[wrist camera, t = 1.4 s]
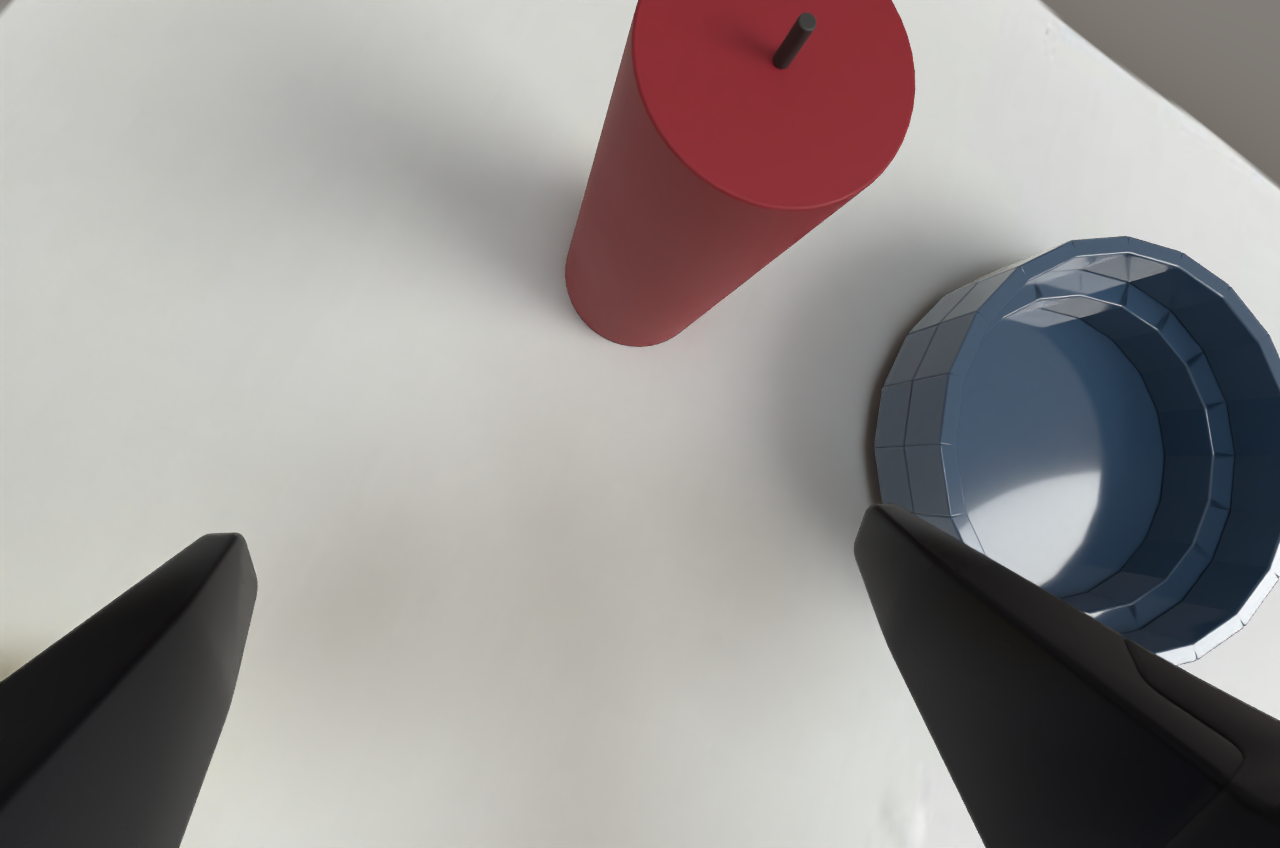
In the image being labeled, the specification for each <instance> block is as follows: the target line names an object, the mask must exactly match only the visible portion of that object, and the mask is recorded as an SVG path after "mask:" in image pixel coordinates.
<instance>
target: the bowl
mask: <svg viewBox="0 0 1280 848" xmlns="http://www.w3.org/2000/svg"><path fill="white" fill-rule="evenodd" d="M874 447H875V449H874V451H875V458H876V465H877V472H878V478H879V485H880V492H881V499H882V504H887V503H893V504H897V505H899V506H901V507H903V508H904V509H906V510H908V511H910V512H911V513H913V514H915V515H917V516H918V517H920V518H922V519H923V520H925V521H927V522H929V523H930V524H932V525H934V526H935V527H937V528H939V529H941V530H942V531H944V532H946V533H948V534H949V535H951V536H953V537H954V538H956V539H958V540H960V541H961V542H963V543H965V544H967V545H968V546H970V547H972V548H973V549H975V550H977V551H979V552H980V553H982V554H984V555H986V556H987V557H989V558H991V559H992V560H994V561H996V562H998V563H999V564H1001V565H1003V566H1005V567H1006V568H1008V569H1010V570H1011V571H1013V572H1015V573H1017V574H1018V575H1020V576H1022V577H1024V578H1025V579H1027V580H1029V581H1030V582H1032V583H1034V584H1036V585H1037V586H1039V587H1041V588H1043V589H1044V590H1046V591H1048V592H1049V593H1051V594H1053V595H1055V596H1056V597H1058V598H1060V599H1062V600H1063V601H1065V602H1067V603H1068V604H1070V605H1072V606H1074V607H1075V608H1077V609H1079V610H1081V611H1082V612H1084V613H1086V614H1087V615H1089V616H1091V617H1093V618H1094V619H1096V620H1098V621H1100V622H1101V623H1103V624H1105V625H1106V626H1108V627H1110V628H1112V629H1113V630H1115V631H1117V632H1119V633H1120V634H1121V635H1122V637H1123V638H1124V637H1127V638H1129V639H1131V640H1133V641H1134V642H1136V643H1138V644H1139V645H1141V646H1143V647H1145V648H1146V649H1148V650H1150V651H1151V652H1153V653H1155V654H1157V655H1158V656H1160V657H1162V658H1164V659H1166V660H1167V661H1169V662H1171V663H1173V664H1174V665H1176V666H1177V665H1181V664H1185V663H1189V662H1193V661H1196V660H1198V659H1200V658H1201V657H1202V656H1204V655H1205V654H1207V653H1208V652H1210V651H1211V650H1212V649H1214V648H1215V647H1217V646H1218V645H1220V644H1221V643H1222V642H1224V641H1225V640H1227V639H1228V638H1229V637H1231V636H1232V635H1234V634H1235V633H1237V632H1238V631H1239V630H1241V629H1242V628H1243V626H1245V625H1246V624H1247V623H1248V621H1249V620H1250V619H1251V617H1252V616H1253V614H1254V613H1255V612H1256V610H1257V609H1258V608H1259V606H1260V605H1261V603H1262V602H1263V601H1264V599H1265V598H1266V596H1267V595H1268V594H1269V592H1270V591H1271V590H1272V588H1273V587H1274V585H1275V584H1276V583H1277V581H1278V580H1279V578H1278V577H1280V358H1279V355H1278V353H1277V351H1276V349H1275V346H1274V344H1273V342H1272V340H1271V337H1270V335H1269V334H1268V333H1267V331H1266V330H1265V329H1264V327H1263V326H1262V325H1261V324H1260V322H1259V321H1258V320H1257V319H1256V317H1255V316H1254V315H1253V314H1252V312H1251V311H1250V310H1249V309H1248V307H1247V306H1246V305H1245V304H1244V302H1243V301H1242V300H1241V299H1240V297H1239V296H1238V295H1237V294H1236V292H1235V291H1234V290H1233V289H1232V287H1229V285H1228V284H1227V283H1226V282H1224V281H1223V280H1221V279H1220V278H1218V277H1217V276H1216V275H1214V274H1213V273H1211V272H1210V271H1208V270H1207V269H1206V268H1204V267H1203V266H1201V265H1200V264H1198V263H1197V262H1196V261H1194V260H1193V259H1191V258H1190V257H1188V256H1187V255H1186V254H1184V253H1181V252H1180V251H1177V250H1173V249H1170V248H1166V247H1163V246H1159V245H1156V244H1153V243H1149V242H1146V241H1142V240H1139V239H1135V238H1132V237H1127V236H1120V237H1107V238H1095V239H1082V240H1071V241H1068V242H1066V243H1063V244H1061V245H1058V246H1056V247H1053V248H1051V249H1048V250H1046V251H1043V252H1041V253H1038V254H1036V255H1033V256H1031V257H1028V258H1026V259H1023V260H1021V261H1018V262H1016V263H1013V264H1011V265H1008V266H1006V267H1003V268H1001V269H998V270H996V271H993V272H991V273H989V274H987V275H984V276H982V277H980V278H978V279H976V280H974V281H972V282H970V283H968V284H966V285H964V286H962V287H960V288H958V289H956V290H954V291H952V292H950V293H947V295H944V296H943V297H942V298H941V299H940V300H939V301H938V302H937V304H936V305H935V306H934V307H933V308H932V309H931V310H930V311H929V312H928V313H927V314H926V315H925V316H924V317H923V318H922V319H921V320H920V321H919V322H918V323H917V324H916V325H915V326H914V327H913V328H912V330H911V331H910V332H909V333H908V335H907V336H906V338H905V341H904V343H903V345H902V347H901V349H900V351H899V353H898V355H897V358H896V360H895V362H894V364H893V366H892V368H891V370H890V372H889V375H888V377H887V379H886V381H885V383H884V387H883V388H882V392H881V399H880V406H879V413H878V421H877V428H876V435H875V442H874Z"/></svg>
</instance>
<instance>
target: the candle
mask: <svg viewBox="0 0 1280 848" xmlns="http://www.w3.org/2000/svg"><path fill="white" fill-rule="evenodd" d="M914 95H915V70H914V63H913V56H912V51H911V47H910V43H909V40H908V36H907V33H906V30H905V28H904V25H903V23H902V20H901V18H900V16H899V14H898V12H897V10H896V8H895V6H894V4H893V2H892V0H638V3H637V6H636V10H635V13H634V17H633V20H632V24H631V28H630V31H629V35H628V38H627V42H626V46H625V49H624V53H623V56H622V60H621V64H620V67H619V71H618V75H617V78H616V82H615V85H614V89H613V93H612V96H611V100H610V104H609V107H608V111H607V114H606V118H605V122H604V125H603V129H602V133H601V136H600V140H599V143H598V147H597V151H596V154H595V158H594V161H593V165H592V169H591V172H590V176H589V180H588V183H587V187H586V190H585V194H584V198H583V201H582V205H581V209H580V212H579V216H578V219H577V223H576V227H575V230H574V234H573V238H572V241H571V245H570V248H569V252H568V256H567V260H566V267H565V278H566V286H567V290H568V294H569V297H570V299H571V302H572V304H573V306H574V308H575V309H576V311H577V313H578V314H579V316H580V317H581V318H582V320H583V321H584V322H585V323H586V324H587V325H588V326H589V327H590V328H591V329H593V330H594V331H595V332H596V333H598V334H599V335H601V336H603V337H604V338H606V339H608V340H610V341H613V342H615V343H619V344H622V345H627V346H638V347H642V346H651V345H655V344H659V343H662V342H664V341H667V340H669V339H671V338H673V337H674V336H676V335H677V334H679V333H680V332H681V331H683V330H684V329H685V328H686V327H688V326H689V325H690V324H692V323H693V322H694V321H695V320H697V319H698V318H699V317H701V316H702V315H703V314H704V313H706V312H707V311H708V310H710V309H711V308H712V307H713V306H715V305H716V304H717V303H719V302H720V301H721V300H722V299H724V298H725V297H726V296H728V295H729V294H730V293H731V292H733V291H734V290H735V289H737V288H738V287H739V286H740V285H742V284H743V283H744V282H746V281H747V280H748V279H749V278H751V277H752V276H753V275H755V274H756V273H757V272H758V271H760V270H761V269H762V268H764V267H765V266H766V265H767V264H769V263H770V262H771V261H773V260H774V259H775V258H776V257H778V256H779V255H780V254H782V253H783V252H784V251H785V250H787V249H788V248H789V247H791V246H792V245H793V244H794V243H796V242H797V241H798V240H800V239H801V238H802V237H803V236H805V235H806V234H807V233H809V232H810V231H811V230H812V229H814V228H815V227H816V226H818V225H819V224H820V223H821V222H823V221H824V220H825V219H827V218H828V217H829V216H830V215H832V214H833V213H834V212H836V211H837V210H838V209H839V208H841V207H842V206H843V205H845V204H846V203H847V202H848V201H850V200H851V199H852V198H854V197H855V196H856V195H857V194H859V193H860V192H861V191H863V190H864V189H865V188H866V187H868V186H869V185H870V184H872V183H873V182H874V181H875V180H876V179H877V178H878V177H879V176H880V175H881V174H882V173H883V172H884V170H885V169H886V168H887V166H888V165H889V164H890V162H891V161H892V160H893V159H894V157H895V155H896V153H897V151H898V150H899V148H900V146H901V144H902V142H903V140H904V137H905V134H906V132H907V129H908V127H909V123H910V119H911V115H912V111H913V105H914Z"/></svg>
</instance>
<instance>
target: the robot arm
mask: <svg viewBox="0 0 1280 848" xmlns="http://www.w3.org/2000/svg"><path fill="white" fill-rule="evenodd" d="M854 555H855V559H856V562H857V565H858V567H859V570H860V573H861V576H862V578H863V581H864V584H865V587H866V589H867V592H868V595H869V598H870V600H871V603H872V606H873V609H874V611H875V614H876V617H877V619H878V622H879V625H880V628H881V630H882V633H883V635H884V638H885V640H886V643H887V645H888V647H889V649H890V652H891V654H892V656H893V658H894V660H895V662H896V664H897V666H898V668H899V670H900V673H901V675H902V677H903V679H904V681H905V683H906V685H907V687H908V689H909V691H910V693H911V695H912V697H913V699H914V701H915V703H916V705H917V707H918V710H919V712H920V714H921V716H922V718H923V720H924V722H925V724H926V726H927V728H928V730H929V732H930V734H931V736H932V738H933V740H934V742H935V744H936V747H937V749H938V751H939V753H940V755H941V757H942V759H943V761H944V763H945V765H946V767H947V769H948V771H949V773H950V775H951V777H952V779H953V782H954V784H955V786H956V788H957V790H958V792H959V794H960V796H961V798H962V800H963V802H964V804H965V806H966V808H967V810H968V812H969V814H970V816H971V819H972V821H973V823H974V825H975V827H976V829H977V831H978V833H979V835H980V837H981V839H982V841H983V843H984V845H985V847H986V848H1280V720H1278V719H1276V718H1274V717H1272V716H1270V715H1268V714H1266V713H1264V712H1262V711H1260V710H1258V709H1256V708H1254V707H1252V706H1251V705H1249V704H1247V703H1245V702H1243V701H1241V700H1239V699H1237V698H1235V697H1233V696H1232V695H1230V694H1228V693H1226V692H1224V691H1222V690H1220V689H1218V688H1216V687H1215V686H1213V685H1211V684H1209V683H1207V682H1205V681H1203V680H1201V679H1199V678H1198V677H1196V676H1194V675H1192V674H1190V673H1189V672H1187V671H1185V670H1183V669H1182V668H1180V667H1178V666H1176V665H1174V664H1173V663H1171V662H1169V661H1167V660H1166V659H1164V658H1162V657H1160V656H1158V655H1157V654H1155V653H1153V652H1151V651H1150V650H1148V649H1146V648H1145V647H1143V646H1141V645H1139V644H1138V643H1136V642H1134V641H1133V640H1131V639H1129V638H1127V637H1124V638H1123V637H1122V635H1121V634H1120V633H1119V632H1117V631H1115V630H1113V629H1112V628H1110V627H1108V626H1106V625H1105V624H1103V623H1101V622H1100V621H1098V620H1096V619H1094V618H1093V617H1091V616H1089V615H1087V614H1086V613H1084V612H1082V611H1081V610H1079V609H1077V608H1075V607H1074V606H1072V605H1070V604H1068V603H1067V602H1065V601H1063V600H1062V599H1060V598H1058V597H1056V596H1055V595H1053V594H1051V593H1049V592H1048V591H1046V590H1044V589H1043V588H1041V587H1039V586H1037V585H1036V584H1034V583H1032V582H1030V581H1029V580H1027V579H1025V578H1024V577H1022V576H1020V575H1018V574H1017V573H1015V572H1013V571H1011V570H1010V569H1008V568H1006V567H1005V566H1003V565H1001V564H999V563H998V562H996V561H994V560H992V559H991V558H989V557H987V556H986V555H984V554H982V553H980V552H979V551H977V550H975V549H973V548H972V547H970V546H968V545H967V544H965V543H963V542H961V541H960V540H958V539H956V538H954V537H953V536H951V535H949V534H948V533H946V532H944V531H942V530H941V529H939V528H937V527H935V526H934V525H932V524H930V523H929V522H927V521H925V520H923V519H922V518H920V517H918V516H917V515H915V514H913V513H911V512H910V511H908V510H906V509H904V508H903V507H901V506H899V505H897V504H893V503H887V504H873V505H870V506H869V507H868V508H867V510H866V512H865V514H864V517H863V520H862V523H861V526H860V528H859V531H858V534H857V537H856V540H855V543H854ZM256 596H257V577H256V573H255V570H254V566H253V563H252V560H251V557H250V553H249V550H248V547H247V543H246V541H245V539H244V537H243V536H242V535H241V534H239V533H212V534H206V535H204V536H202V537H200V538H199V539H197V540H196V541H195V542H193V543H192V544H191V545H189V546H188V547H186V548H185V549H184V550H182V551H181V552H180V553H178V554H177V555H175V556H174V557H173V558H171V559H170V560H169V561H167V562H166V563H164V564H163V565H162V566H160V567H159V568H158V569H156V570H155V571H153V572H152V573H151V574H149V575H148V576H147V577H145V578H144V579H142V580H141V581H140V582H138V583H137V584H135V585H134V586H133V587H131V588H130V589H129V590H127V591H126V592H124V593H123V594H122V595H120V596H119V597H118V598H116V599H115V600H113V601H112V602H111V603H109V604H108V605H107V606H105V607H104V608H102V609H101V610H100V611H98V612H97V613H96V614H94V615H93V616H91V617H90V618H89V619H87V620H86V621H84V622H83V623H82V624H80V625H79V626H78V627H76V628H75V629H73V630H72V631H71V632H69V633H68V634H67V635H65V636H64V637H62V638H61V639H60V640H58V641H57V642H56V643H54V644H53V645H51V646H50V647H49V648H47V649H46V650H45V651H43V652H42V653H40V654H39V655H38V656H36V657H35V658H33V659H32V660H31V661H29V662H28V663H27V664H25V665H24V666H22V667H21V668H20V669H18V670H17V671H16V672H14V673H13V674H11V675H10V676H9V677H7V678H6V679H5V680H3V681H2V682H0V848H179V847H180V844H181V841H182V838H183V836H184V833H185V830H186V827H187V825H188V822H189V819H190V816H191V814H192V811H193V808H194V805H195V803H196V800H197V797H198V794H199V792H200V789H201V786H202V783H203V781H204V778H205V775H206V772H207V770H208V767H209V764H210V761H211V759H212V756H213V753H214V750H215V748H216V745H217V742H218V739H219V737H220V734H221V731H222V728H223V725H224V723H225V720H226V717H227V714H228V711H229V708H230V705H231V701H232V697H233V694H234V690H235V686H236V682H237V677H238V673H239V669H240V665H241V660H242V656H243V652H244V647H245V643H246V639H247V635H248V630H249V626H250V622H251V617H252V613H253V609H254V604H255V600H256Z"/></svg>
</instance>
